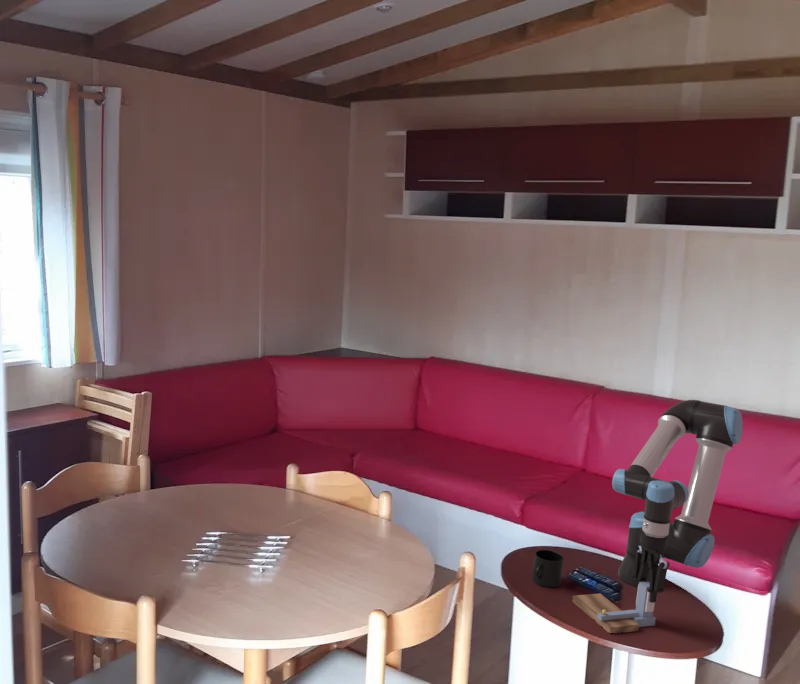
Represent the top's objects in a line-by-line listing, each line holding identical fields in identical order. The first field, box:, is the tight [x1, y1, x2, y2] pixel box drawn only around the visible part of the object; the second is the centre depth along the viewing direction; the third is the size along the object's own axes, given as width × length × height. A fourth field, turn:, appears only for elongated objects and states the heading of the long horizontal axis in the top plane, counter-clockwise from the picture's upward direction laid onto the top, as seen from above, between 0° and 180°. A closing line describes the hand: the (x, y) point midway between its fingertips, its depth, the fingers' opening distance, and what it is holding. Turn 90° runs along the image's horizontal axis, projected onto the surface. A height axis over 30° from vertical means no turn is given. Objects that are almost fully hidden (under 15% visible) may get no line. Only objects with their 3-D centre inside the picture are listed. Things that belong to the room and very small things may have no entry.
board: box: [572, 592, 640, 634], centre depth 235 cm, size 10×20×2 cm, turn 20°
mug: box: [531, 549, 565, 588], centre depth 254 cm, size 9×12×9 cm
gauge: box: [597, 581, 657, 628], centre depth 230 cm, size 18×5×12 cm, turn 110°
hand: (644, 607), depth 232 cm, fingers closed on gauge, 3 cm apart
